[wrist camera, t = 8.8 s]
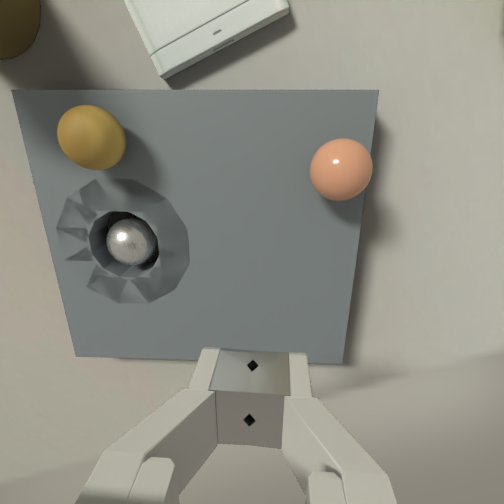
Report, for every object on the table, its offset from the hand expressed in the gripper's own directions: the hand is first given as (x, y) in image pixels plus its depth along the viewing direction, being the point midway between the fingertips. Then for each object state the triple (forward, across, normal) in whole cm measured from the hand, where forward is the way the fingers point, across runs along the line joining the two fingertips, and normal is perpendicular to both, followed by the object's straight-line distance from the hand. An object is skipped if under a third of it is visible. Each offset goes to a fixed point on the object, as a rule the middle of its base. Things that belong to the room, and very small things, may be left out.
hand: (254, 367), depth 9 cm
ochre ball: (+9, +9, -6) cm, 14 cm away
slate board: (+13, +4, 0) cm, 14 cm away
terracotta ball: (+10, -4, -5) cm, 11 cm away
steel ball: (+12, +9, 0) cm, 15 cm away
